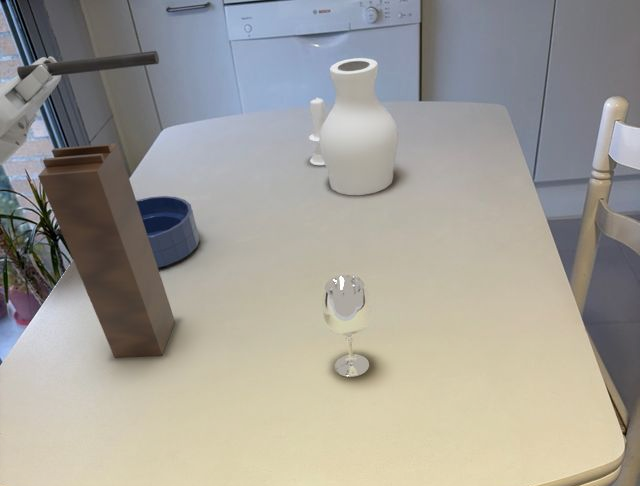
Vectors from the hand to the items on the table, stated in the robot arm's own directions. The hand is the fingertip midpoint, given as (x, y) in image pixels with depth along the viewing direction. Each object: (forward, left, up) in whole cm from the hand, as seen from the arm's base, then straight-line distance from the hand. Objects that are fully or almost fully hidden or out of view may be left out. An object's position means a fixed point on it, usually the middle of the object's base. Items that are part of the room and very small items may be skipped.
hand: (50, 65), depth 90 cm
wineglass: (+41, -31, -30) cm, 60 cm away
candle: (+33, +35, -30) cm, 57 cm away
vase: (+41, +24, -30) cm, 56 cm away
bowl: (+6, +3, -30) cm, 31 cm away
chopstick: (+5, 0, -1) cm, 5 cm away
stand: (+11, -23, -30) cm, 40 cm away
